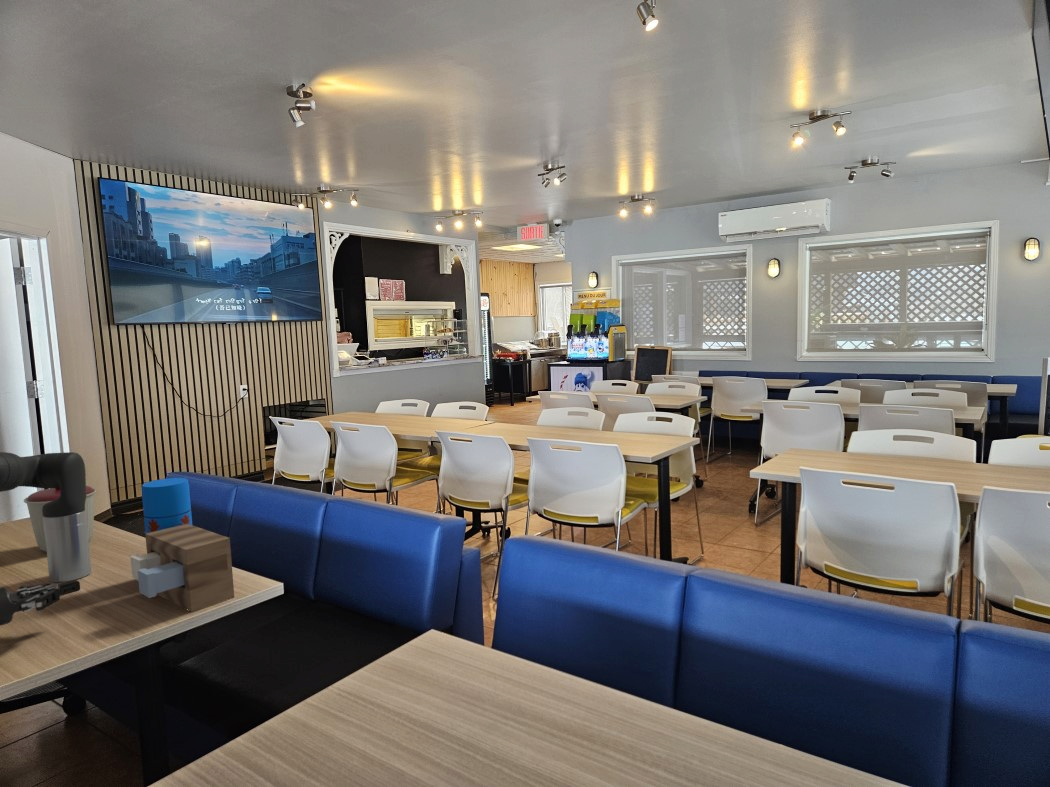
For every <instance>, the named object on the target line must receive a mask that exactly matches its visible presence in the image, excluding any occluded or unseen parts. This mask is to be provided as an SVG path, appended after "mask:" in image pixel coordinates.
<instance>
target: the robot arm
mask: <svg viewBox="0 0 1050 787" xmlns="http://www.w3.org/2000/svg"><path fill="white" fill-rule="evenodd" d="M86 475H87V474H86V466H85V460H84V459H83V457H82V455H80V454H79V453H78V452H74V451H73V452H49V453H42V454H37V455H29V456H28V455H27V456H19V455H18V454H15V453H12V452H4V451H0V492H7V491H12V490H14V489H16V488H18V487H29V488H38V489H50V488H60V497H59V498H58V499H56V500H54V501H51V502H48V503H46V504H45V505H43V507H42V514H43V523H44V532H45V541H46V550H47V552H46V558H47V568H48V569H47V570H48V577H49V578H48V579H49V581H50V582H52V583H53V584H51V583H50V582H49V583H48V582H46V583H41V584H40V583H39V584H30V585H21V586H20V587H18V589H17V590H16V591H13V592H11V593H10V591H9V590H8V588H6V587H4V586H1V587H0V626H4V625H7V624H10V623H11V622H12V621H13V618H14V614H15V613H18V612H23V613H25V612H29V611H32V610H34V608H35V610H36V612H40V611H43V610H45V609H46V608H48V607H50V606H51V605H53V604H55V603H58V602H59V601H60V599H61V597H62V596H66V595H69V594H72V593H75V592H79V591H80V590H81V583H80V581H78V579H81V578H84V577H86V576H89V575H90V574H91V573H92V564H91V552H90V542H89V541H88V531H87V521H86V512H85V501H86V486H87V481H86V480H87V478H86ZM57 583H59V584H57Z"/></svg>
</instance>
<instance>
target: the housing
mask: <svg viewBox="0 0 1050 787" xmlns="http://www.w3.org/2000/svg"><path fill="white" fill-rule="evenodd" d="M144 536H145V546H146V554H148V553H152V552H158V553H160V558H161V565H165V564H168V563H172V562H175V561H179V562H182V563H183V570H184V581H185V585H182V586H179V587H176V588H173V589H170V590H166V591H163V592H160V593H157V596H159V597H162V598H163V599H166V600H167V601H169V602H171V603H173V604H175V605H177V606H179V607H180V608H182V607H183V608H182V609H184V608H185V609H184V610H186V609H188V610H189V611H188V610H187V611H188V612H190V611H191V612H190V613H193V612H192V611H194V612H196V611H199V610H201V609H205V608H208V607H210V606H214V605H217V604H219V603H221V602H225V601H227V599H228V600H230V598H231V599H233V597H234V598H235V588H234V578H233V577H234V576H233V575H234V574H233V563H232V550H231V540H230V538H231V537H228V536H225V535H221V534H219V533H216V532H212V531H210V530H208V529H204V528H201V527H198V526H196V525H193V524H192V525H190V524H183V525H179V526H175V527H171V528H167V529H163V530H159V531H155V532H150V533H145V535H144ZM198 609H199V610H198ZM195 610H196V611H195Z"/></svg>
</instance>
